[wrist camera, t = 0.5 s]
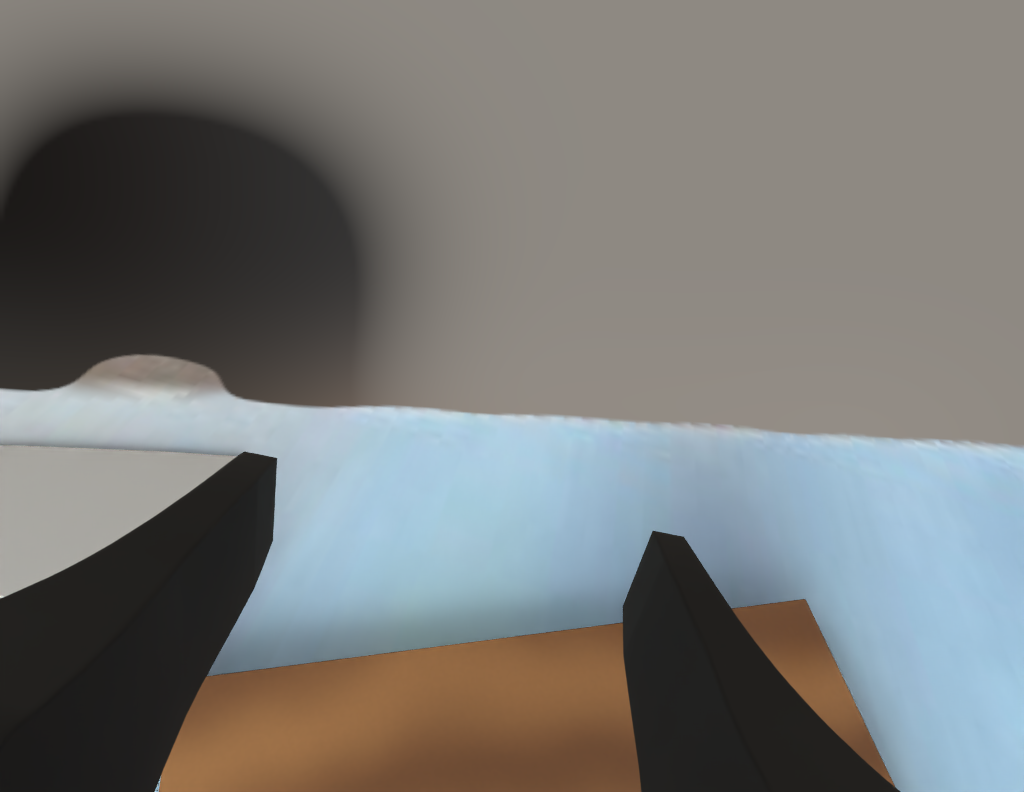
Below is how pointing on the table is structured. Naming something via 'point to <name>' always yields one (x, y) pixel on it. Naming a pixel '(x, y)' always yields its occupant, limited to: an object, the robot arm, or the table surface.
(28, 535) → the kitchen cleaver
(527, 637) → the cutting board
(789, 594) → the table surface
